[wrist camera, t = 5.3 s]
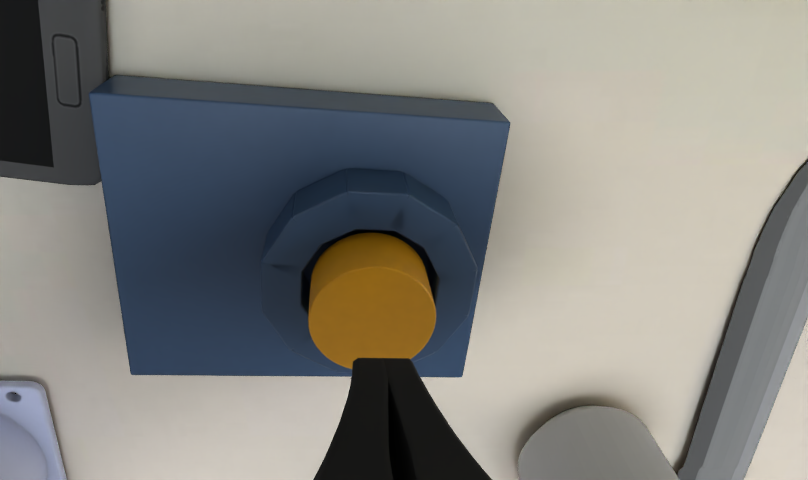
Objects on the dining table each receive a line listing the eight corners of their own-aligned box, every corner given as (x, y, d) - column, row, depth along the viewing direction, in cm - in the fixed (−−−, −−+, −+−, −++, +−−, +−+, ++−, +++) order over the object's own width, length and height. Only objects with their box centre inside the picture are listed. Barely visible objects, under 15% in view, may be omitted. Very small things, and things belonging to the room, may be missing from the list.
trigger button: (309, 328, 19) (306, 371, 17) (312, 228, 17) (309, 264, 15) (419, 331, 19) (428, 372, 17) (433, 234, 18) (444, 269, 16)
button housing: (147, 337, 22) (113, 413, 19) (113, 74, 18) (59, 110, 14) (452, 342, 24) (472, 412, 21) (494, 102, 19) (529, 141, 16)
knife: (790, 102, 20) (928, 102, 20) (768, 94, 21) (898, 94, 21) (625, 627, 34) (709, 623, 34) (617, 604, 35) (698, 601, 35)
